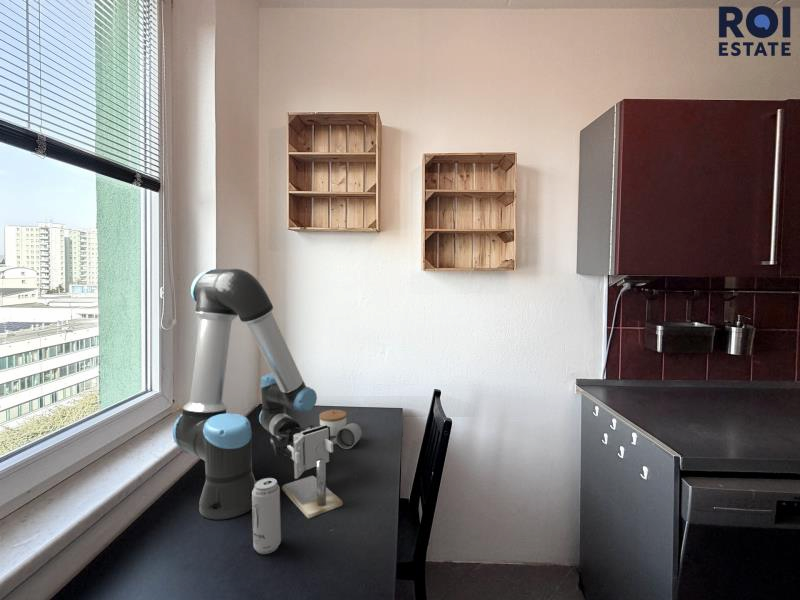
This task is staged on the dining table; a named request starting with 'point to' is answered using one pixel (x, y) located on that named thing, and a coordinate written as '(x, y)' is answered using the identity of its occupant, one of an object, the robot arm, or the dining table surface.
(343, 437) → the ceramic mug
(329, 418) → the lidded jar
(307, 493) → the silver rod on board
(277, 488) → the energy drink can
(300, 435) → the hinge
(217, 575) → the dining table surface
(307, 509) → the mounting board
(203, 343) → the robot arm
